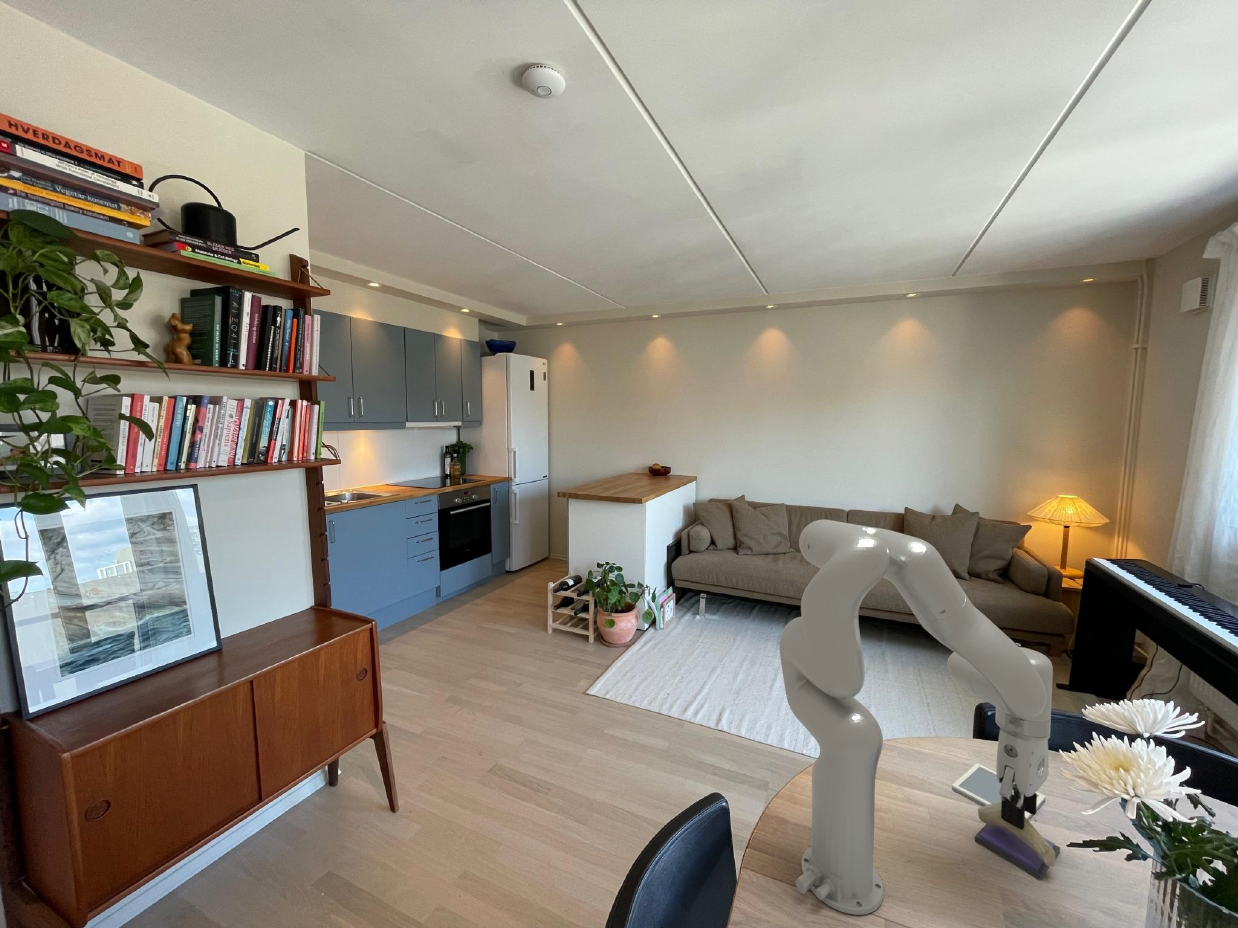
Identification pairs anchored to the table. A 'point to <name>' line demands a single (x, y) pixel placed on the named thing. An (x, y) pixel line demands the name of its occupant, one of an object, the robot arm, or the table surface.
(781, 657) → the robot arm
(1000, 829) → the ink pad
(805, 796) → the table surface
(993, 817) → the beige curved piece
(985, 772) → the white framed grey panel
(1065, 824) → the table surface
